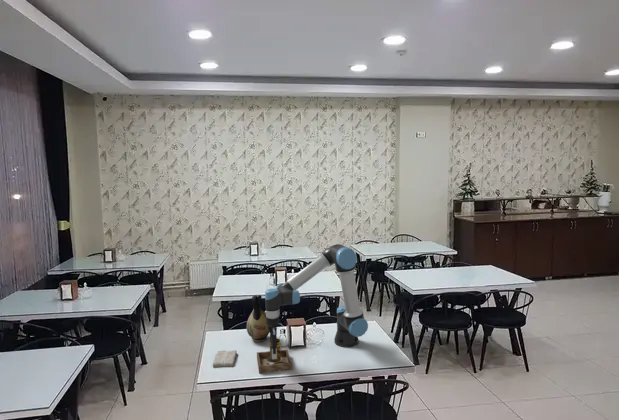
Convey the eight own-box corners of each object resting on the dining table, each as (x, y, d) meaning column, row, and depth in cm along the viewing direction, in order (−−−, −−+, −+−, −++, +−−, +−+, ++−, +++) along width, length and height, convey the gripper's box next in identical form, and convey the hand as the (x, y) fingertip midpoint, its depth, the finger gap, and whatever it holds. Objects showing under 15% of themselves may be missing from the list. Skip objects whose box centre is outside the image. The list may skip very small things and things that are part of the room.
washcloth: (237, 353, 264) (237, 348, 264) (233, 367, 246) (233, 362, 246) (217, 354, 264) (217, 349, 263) (212, 368, 246) (212, 363, 245)
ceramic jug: (250, 334, 293) (249, 290, 289) (273, 334, 290) (271, 290, 287) (243, 344, 276) (241, 298, 273) (267, 345, 274) (265, 299, 270)
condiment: (283, 360, 247) (283, 340, 246) (270, 364, 242) (269, 344, 241) (277, 356, 253) (276, 336, 252) (264, 360, 248) (263, 339, 247)
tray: (287, 355, 259) (287, 349, 258) (292, 370, 241) (291, 363, 241) (256, 359, 255) (256, 352, 255) (259, 373, 238) (258, 366, 237)
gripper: (264, 311, 254) (265, 349, 256) (267, 323, 235) (268, 364, 238) (277, 310, 255) (278, 348, 258) (281, 322, 236) (282, 363, 239)
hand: (273, 356), depth 248 cm, fingers closed on condiment, 6 cm apart
